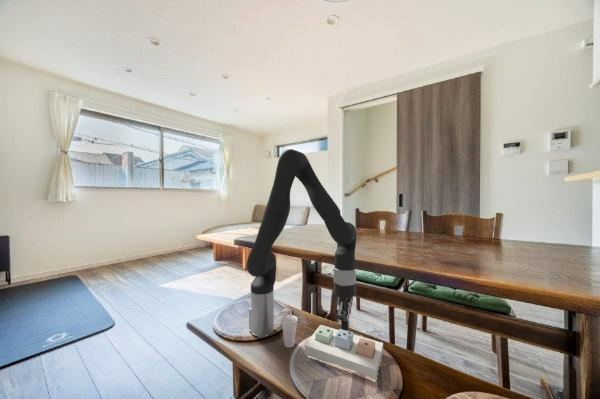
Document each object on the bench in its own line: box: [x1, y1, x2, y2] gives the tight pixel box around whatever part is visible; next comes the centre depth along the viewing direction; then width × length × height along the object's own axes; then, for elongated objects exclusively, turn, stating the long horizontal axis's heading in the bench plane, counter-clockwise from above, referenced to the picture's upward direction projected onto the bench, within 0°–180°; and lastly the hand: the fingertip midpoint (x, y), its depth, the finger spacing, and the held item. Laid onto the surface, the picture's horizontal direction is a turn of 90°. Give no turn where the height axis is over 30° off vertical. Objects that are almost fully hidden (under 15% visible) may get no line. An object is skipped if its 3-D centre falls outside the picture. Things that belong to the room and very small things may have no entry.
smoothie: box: [280, 307, 299, 349], centre depth 87 cm, size 6×6×14 cm
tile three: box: [335, 328, 354, 351], centre depth 81 cm, size 5×5×6 cm
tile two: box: [315, 325, 333, 344], centre depth 85 cm, size 5×5×6 cm
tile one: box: [357, 338, 375, 359], centre depth 78 cm, size 5×5×6 cm
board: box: [304, 324, 384, 380], centre depth 82 cm, size 24×14×4 cm, turn 62°
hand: (344, 329), depth 81 cm, fingers closed
